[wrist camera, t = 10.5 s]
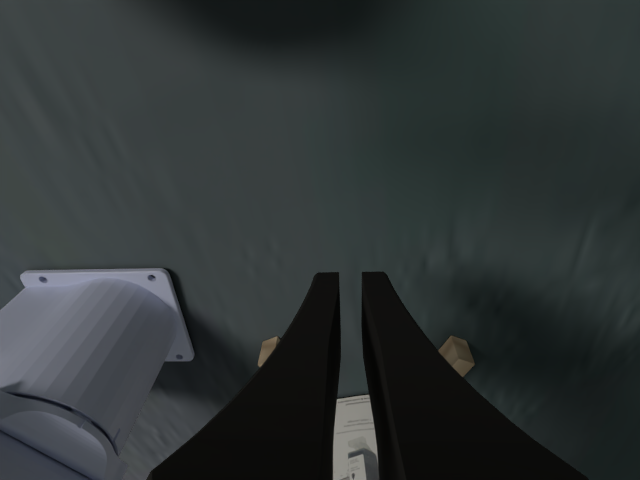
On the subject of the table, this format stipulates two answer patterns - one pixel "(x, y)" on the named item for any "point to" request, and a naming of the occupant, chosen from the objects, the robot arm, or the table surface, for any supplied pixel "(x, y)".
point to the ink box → (354, 440)
